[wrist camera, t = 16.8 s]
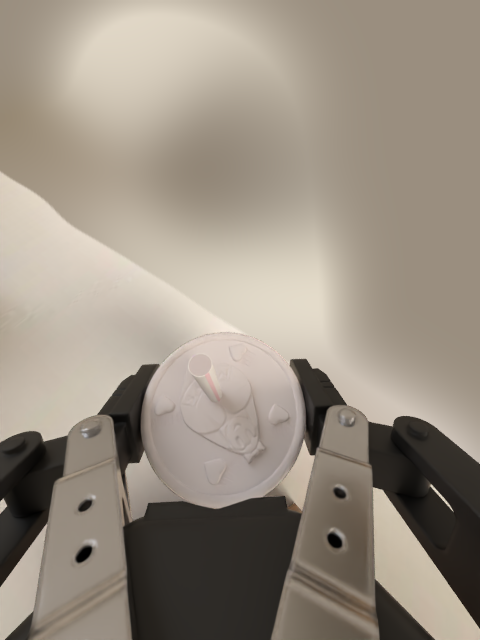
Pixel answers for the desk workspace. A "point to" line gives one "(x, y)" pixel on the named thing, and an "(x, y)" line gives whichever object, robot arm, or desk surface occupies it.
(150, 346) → the desk surface
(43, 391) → the desk surface
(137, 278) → the desk surface
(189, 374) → the smoothie
